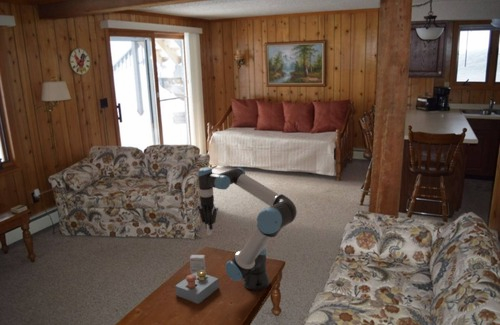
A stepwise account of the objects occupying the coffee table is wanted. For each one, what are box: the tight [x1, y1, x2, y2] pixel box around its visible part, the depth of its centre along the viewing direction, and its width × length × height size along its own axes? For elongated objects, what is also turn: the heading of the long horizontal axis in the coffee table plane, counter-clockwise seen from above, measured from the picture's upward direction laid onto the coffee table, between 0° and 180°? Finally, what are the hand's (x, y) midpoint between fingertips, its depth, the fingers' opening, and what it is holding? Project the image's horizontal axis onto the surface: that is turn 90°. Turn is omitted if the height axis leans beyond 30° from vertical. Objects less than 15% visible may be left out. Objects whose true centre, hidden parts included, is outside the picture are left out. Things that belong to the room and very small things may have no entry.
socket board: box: [174, 271, 220, 305], centre depth 230 cm, size 16×18×6 cm
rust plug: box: [185, 274, 196, 289], centre depth 225 cm, size 5×5×9 cm
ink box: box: [189, 254, 207, 275], centre depth 248 cm, size 9×5×12 cm, turn 84°
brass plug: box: [197, 270, 208, 282], centre depth 233 cm, size 5×5×9 cm
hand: (209, 234), depth 234 cm, fingers closed
